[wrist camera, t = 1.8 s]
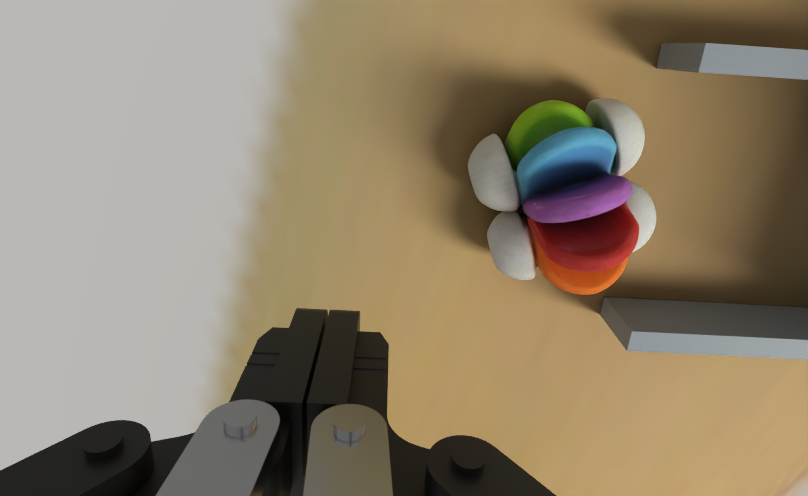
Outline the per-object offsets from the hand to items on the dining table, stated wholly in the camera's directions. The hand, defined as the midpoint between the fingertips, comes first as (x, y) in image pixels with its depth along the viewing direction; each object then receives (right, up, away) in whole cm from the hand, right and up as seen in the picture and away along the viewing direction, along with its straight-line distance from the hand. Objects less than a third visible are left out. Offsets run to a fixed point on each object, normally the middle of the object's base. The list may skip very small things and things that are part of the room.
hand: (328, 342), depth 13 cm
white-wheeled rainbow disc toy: (+10, +6, +16) cm, 20 cm away
